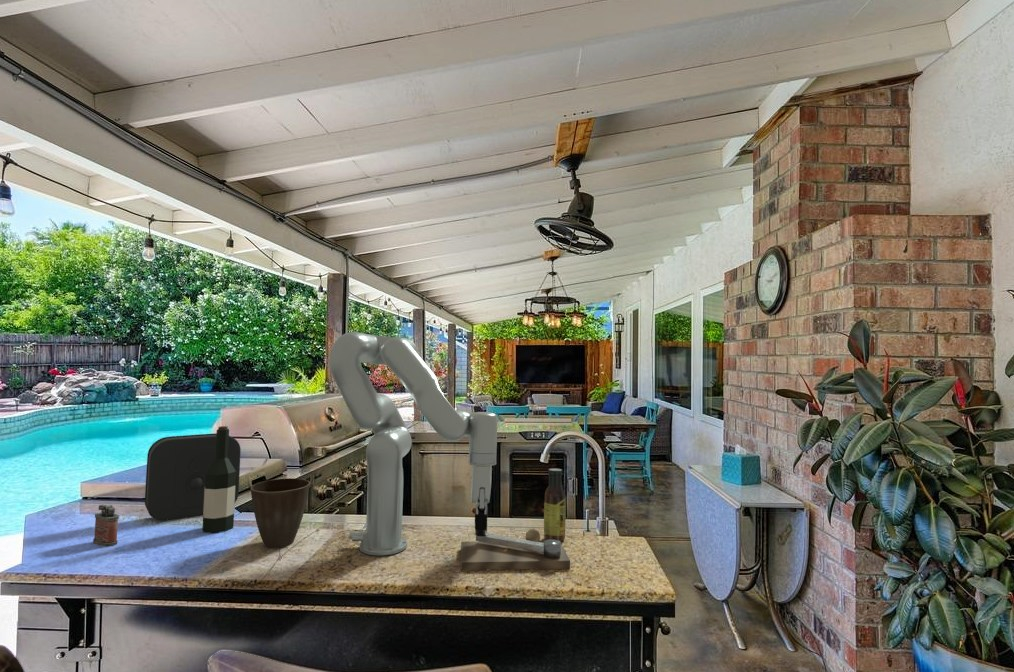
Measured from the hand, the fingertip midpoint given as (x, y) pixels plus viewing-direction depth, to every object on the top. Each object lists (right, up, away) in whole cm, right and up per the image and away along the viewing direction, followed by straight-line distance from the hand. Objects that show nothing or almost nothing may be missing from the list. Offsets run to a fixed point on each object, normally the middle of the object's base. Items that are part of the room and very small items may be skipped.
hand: (480, 526), depth 134 cm
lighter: (-102, -5, 0) cm, 102 cm away
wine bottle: (-79, -6, +14) cm, 80 cm away
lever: (+10, -4, -4) cm, 11 cm away
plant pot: (-56, -6, +2) cm, 56 cm away
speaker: (-94, -7, +26) cm, 98 cm away
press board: (+9, -7, -5) cm, 12 cm away
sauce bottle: (+21, -8, +10) cm, 25 cm away
